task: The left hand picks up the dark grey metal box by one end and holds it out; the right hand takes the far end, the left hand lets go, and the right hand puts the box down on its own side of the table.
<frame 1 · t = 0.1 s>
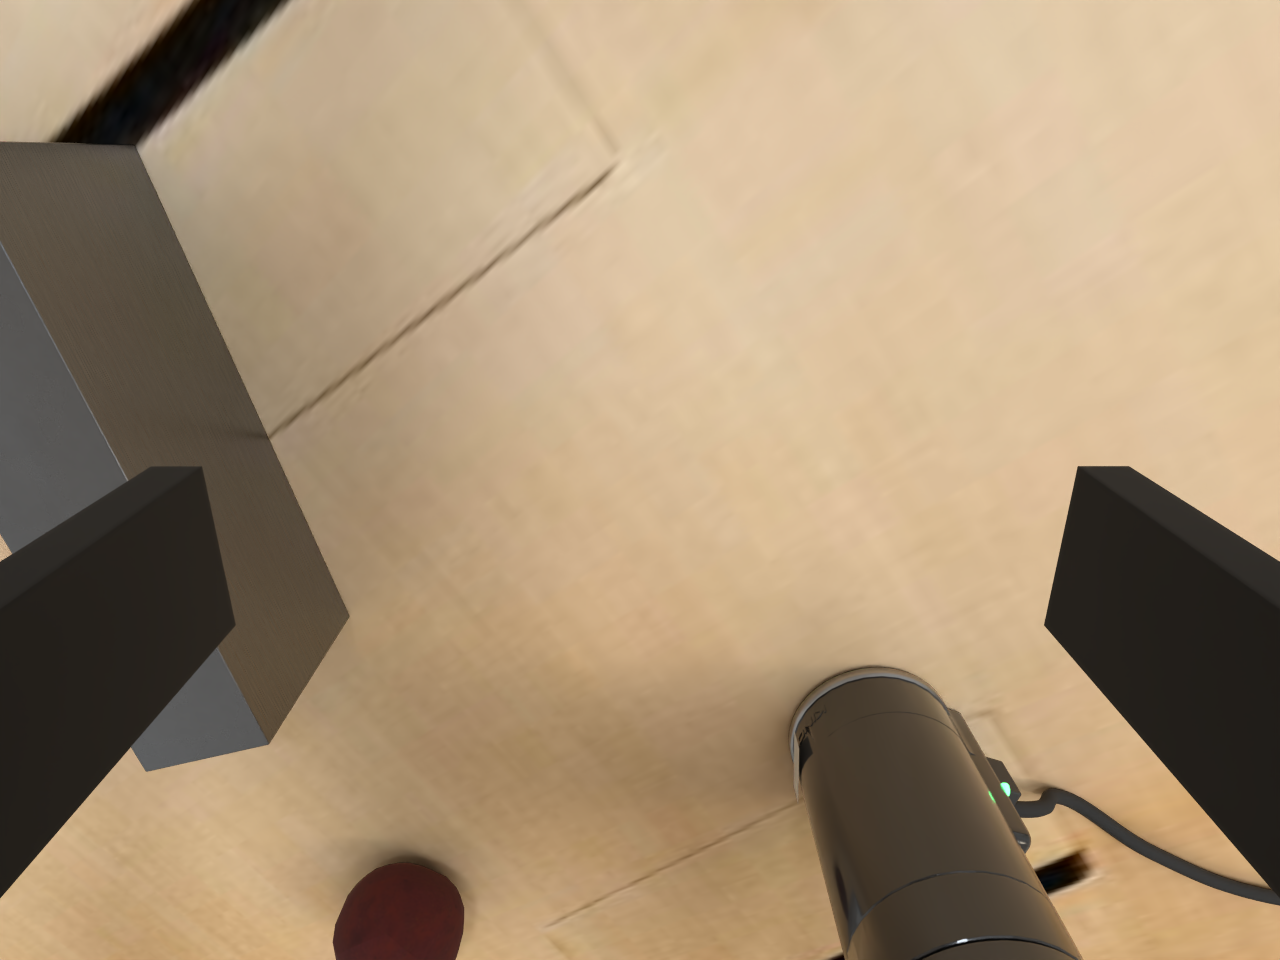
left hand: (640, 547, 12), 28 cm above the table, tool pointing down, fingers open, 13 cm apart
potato: (416, 879, 52), on the table
box: (200, 420, 41), on the table
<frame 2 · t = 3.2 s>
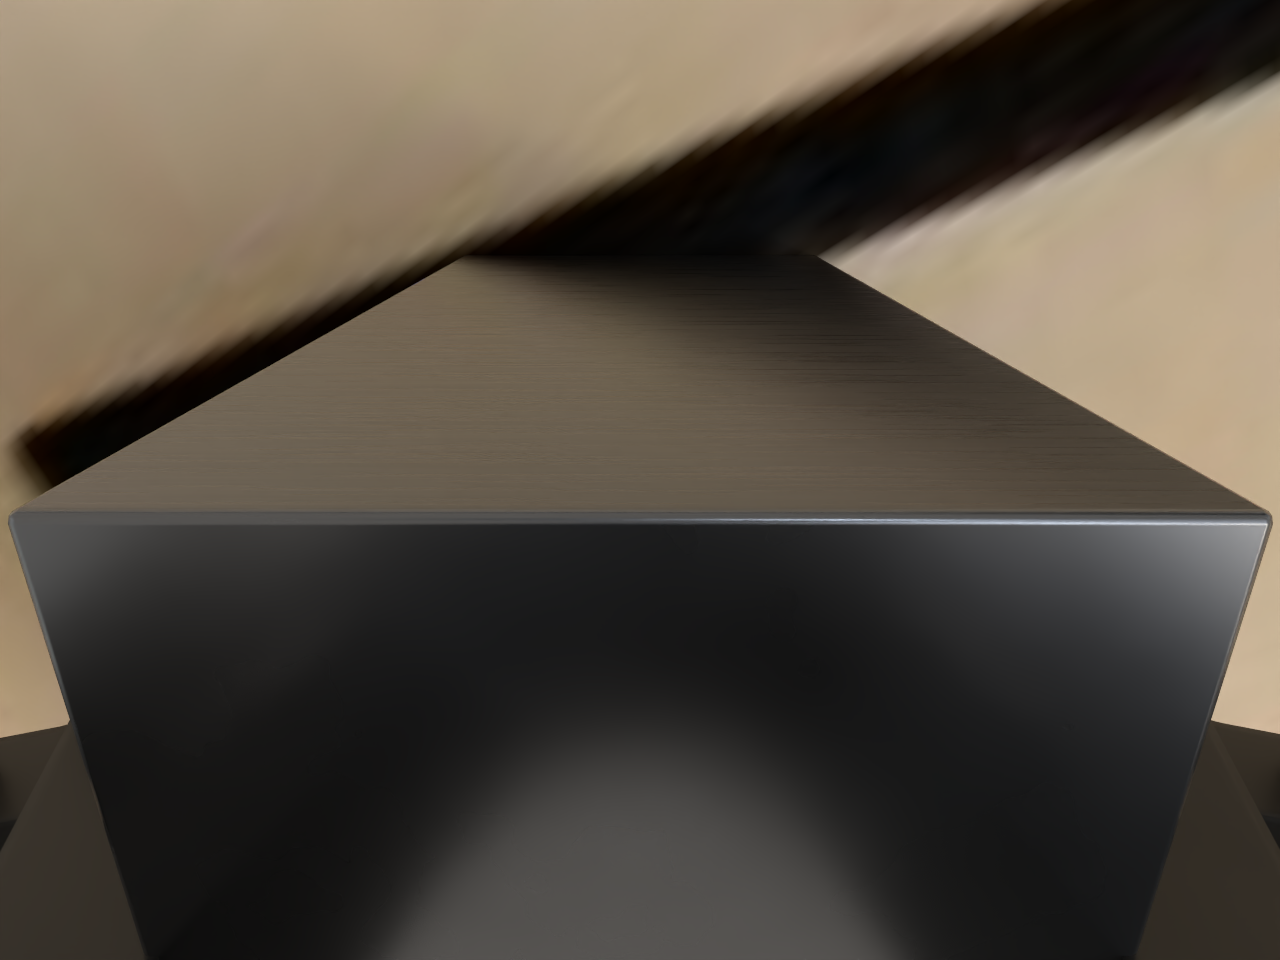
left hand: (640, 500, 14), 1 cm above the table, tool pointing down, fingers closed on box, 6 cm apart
box: (640, 832, 18), on the table, touching left hand
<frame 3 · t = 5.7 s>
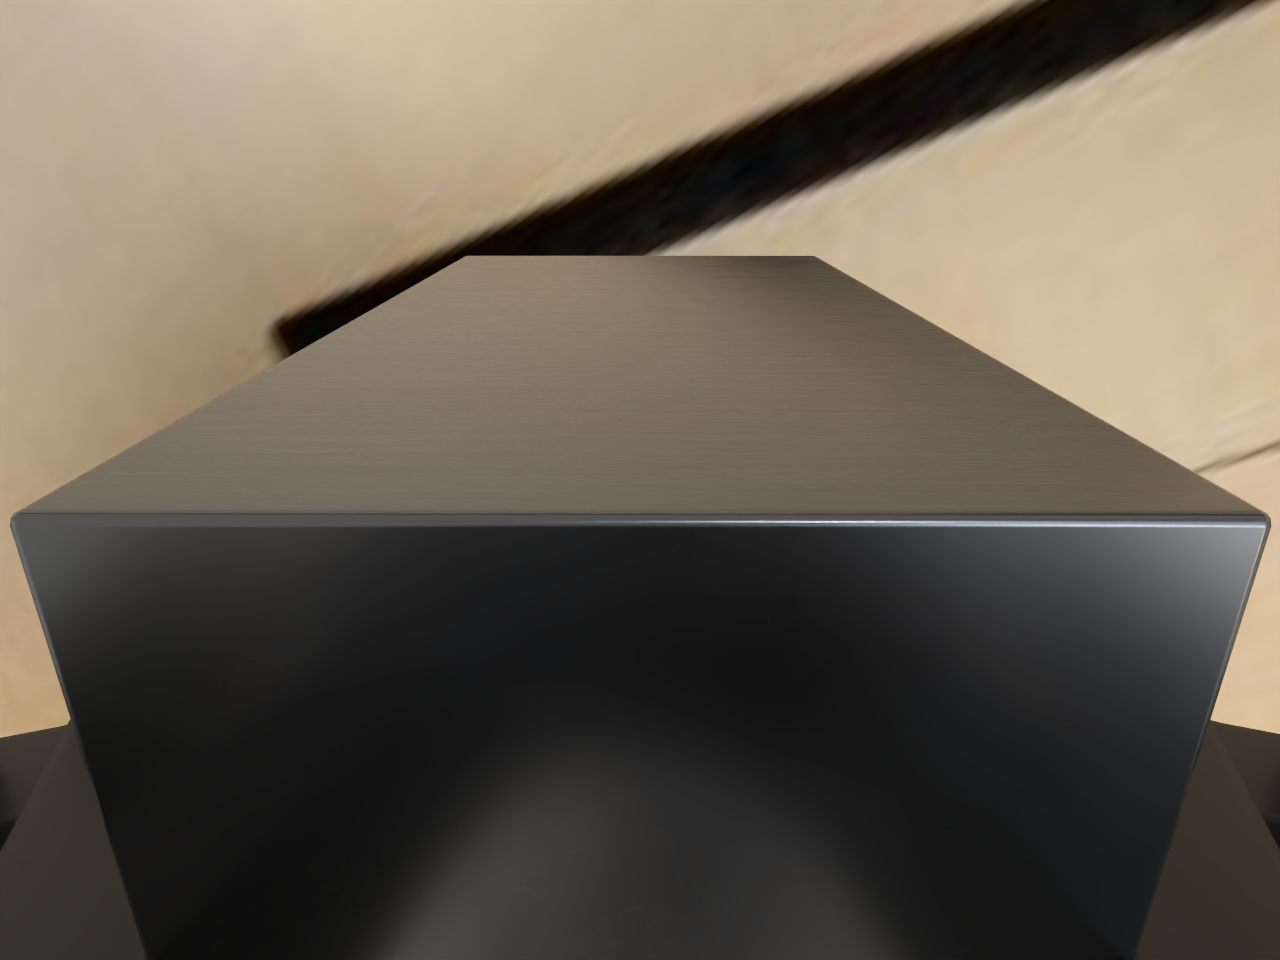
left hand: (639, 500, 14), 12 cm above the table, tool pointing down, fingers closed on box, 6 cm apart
box: (640, 832, 18), point 11 cm above the table, touching left hand
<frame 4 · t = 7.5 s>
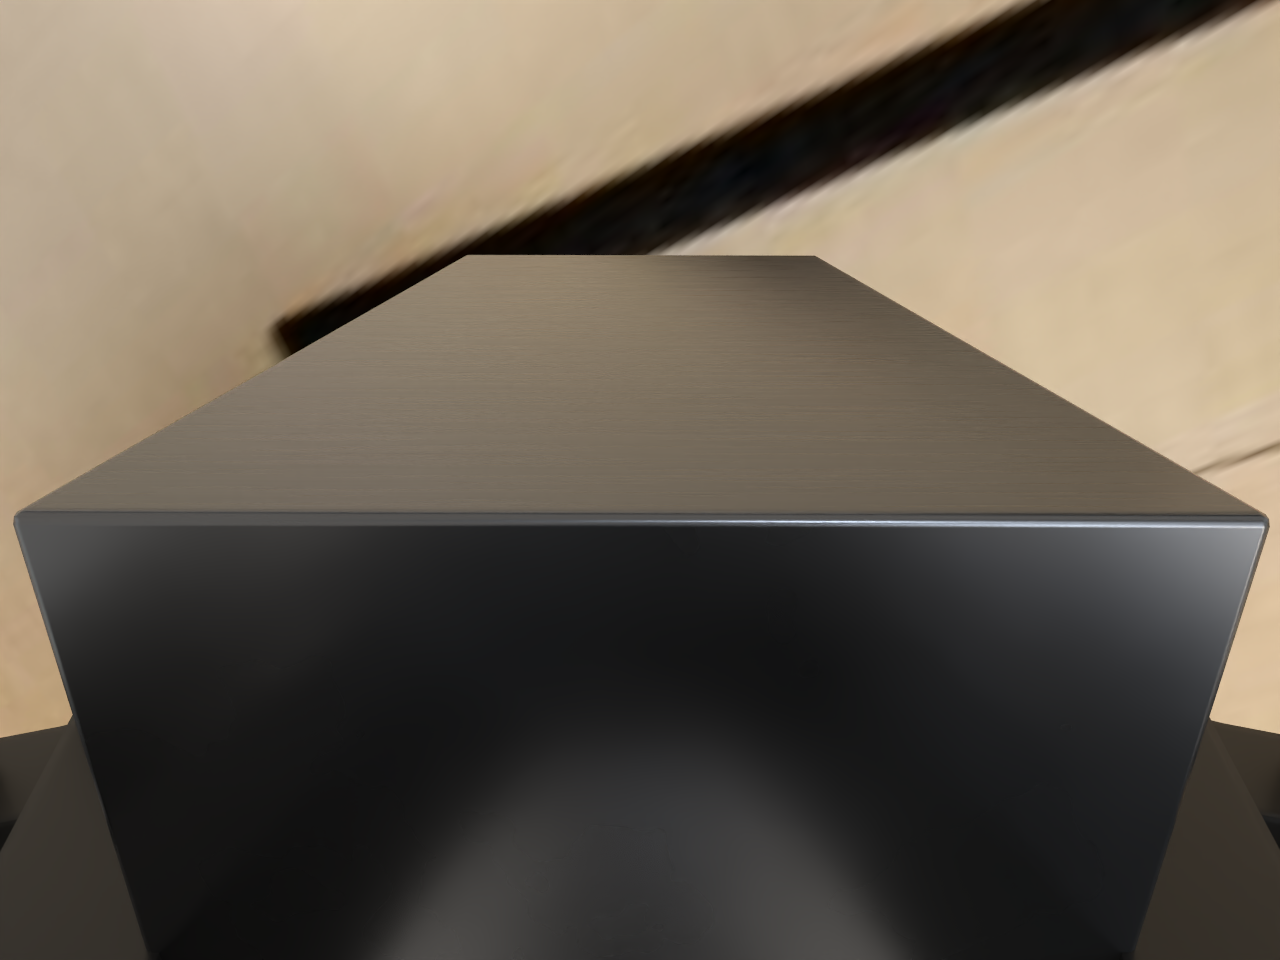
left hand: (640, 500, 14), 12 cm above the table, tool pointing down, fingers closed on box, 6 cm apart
box: (639, 831, 18), point 11 cm above the table, touching left hand, right hand
when the left hand's fingers open (12 cm above the table, at t = 8.4 s): box stays where it is, held by the right hand.
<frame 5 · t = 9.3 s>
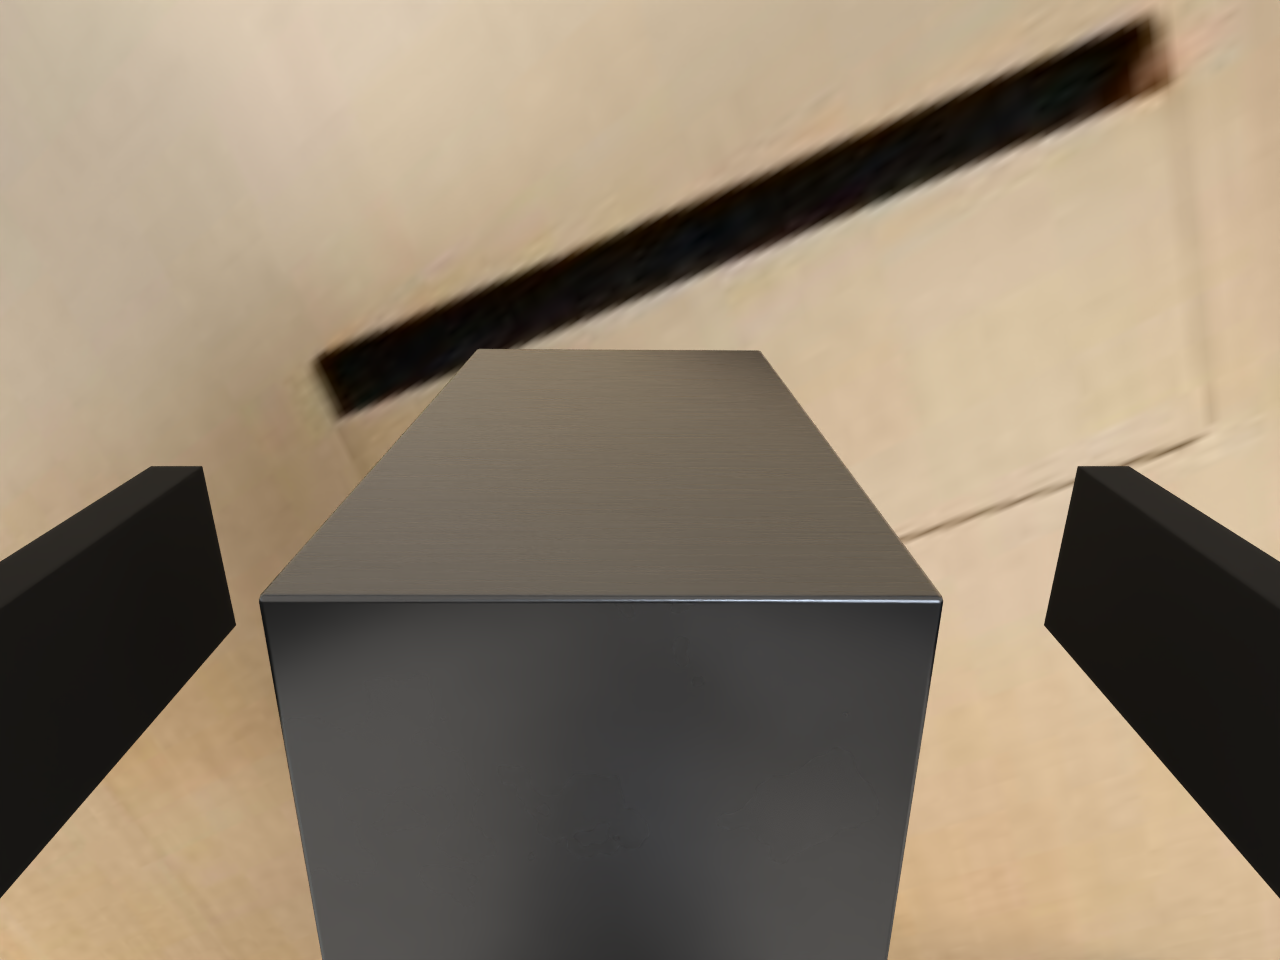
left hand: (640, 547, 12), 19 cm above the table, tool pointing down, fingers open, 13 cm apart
box: (619, 825, 21), point 14 cm above the table, touching right hand
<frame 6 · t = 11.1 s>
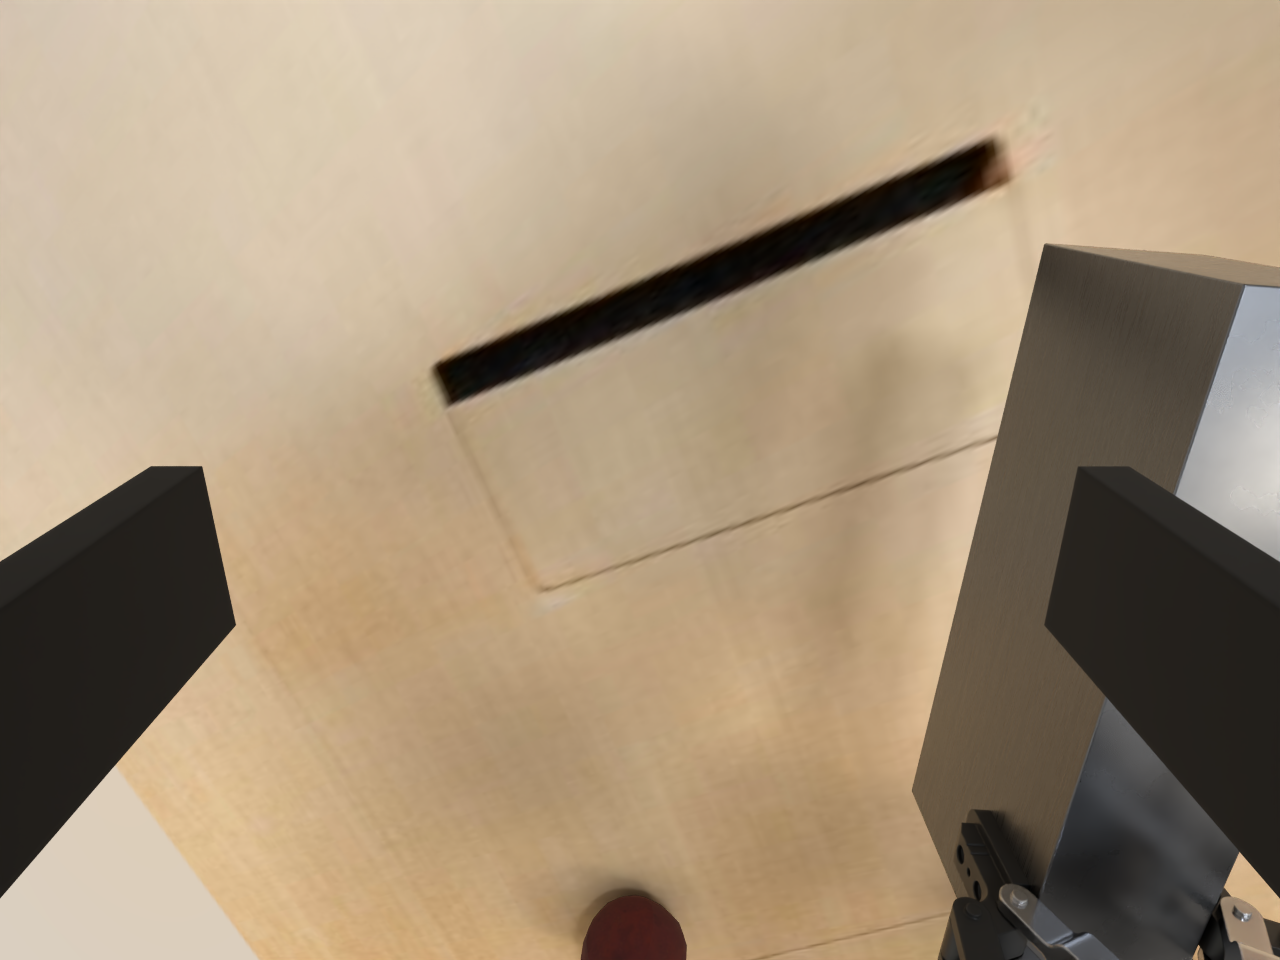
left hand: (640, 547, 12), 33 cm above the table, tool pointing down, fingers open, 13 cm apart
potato: (634, 909, 60), on the table
box: (1038, 558, 34), point 14 cm above the table, touching right hand
when the right hand's fingers open (8 cm above the table, at t = 15.2 s): box drops 2 cm, on the table.
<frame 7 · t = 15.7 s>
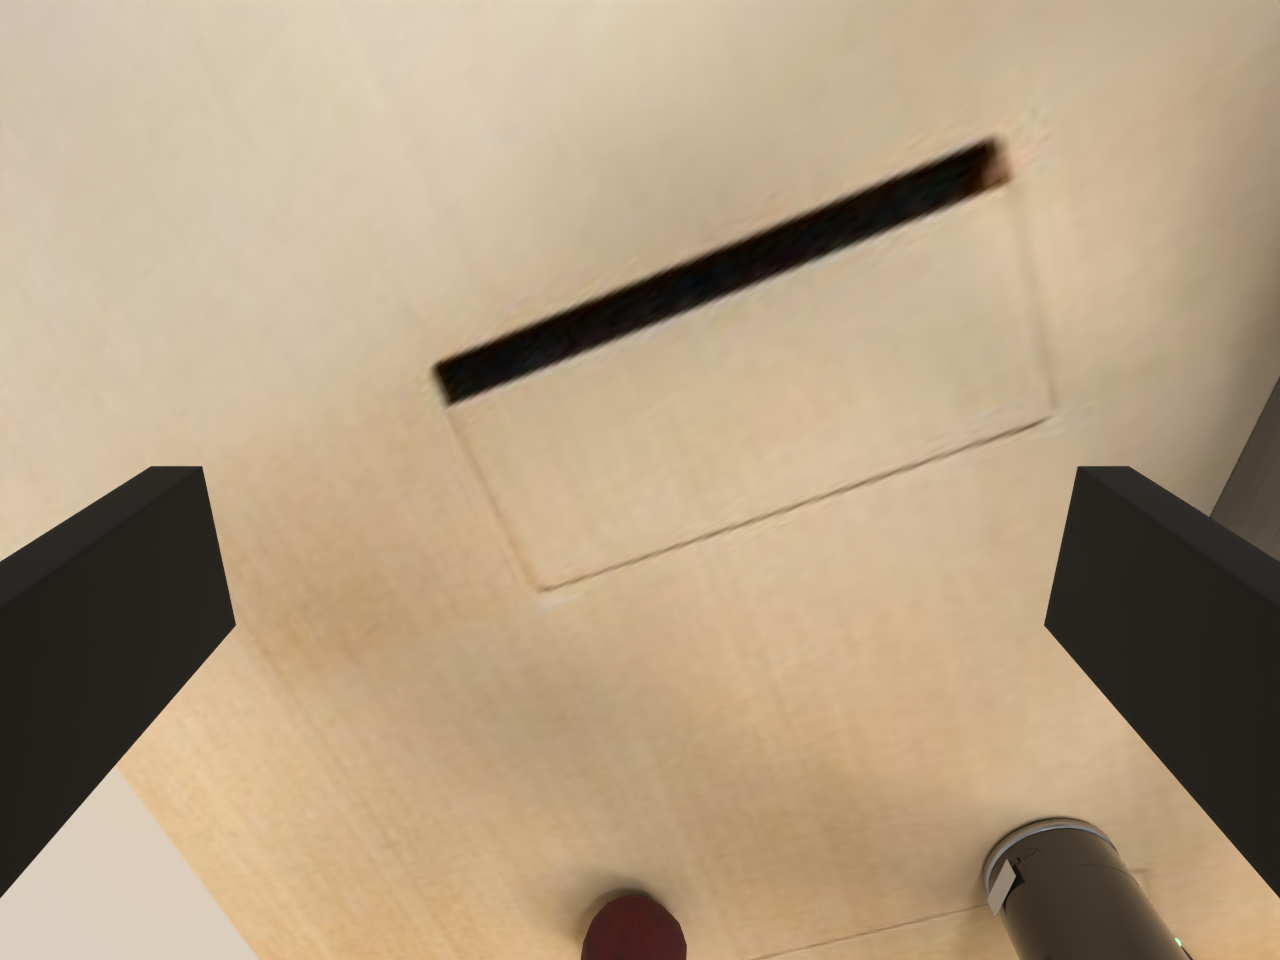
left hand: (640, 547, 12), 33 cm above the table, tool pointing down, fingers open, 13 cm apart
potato: (634, 909, 60), on the table
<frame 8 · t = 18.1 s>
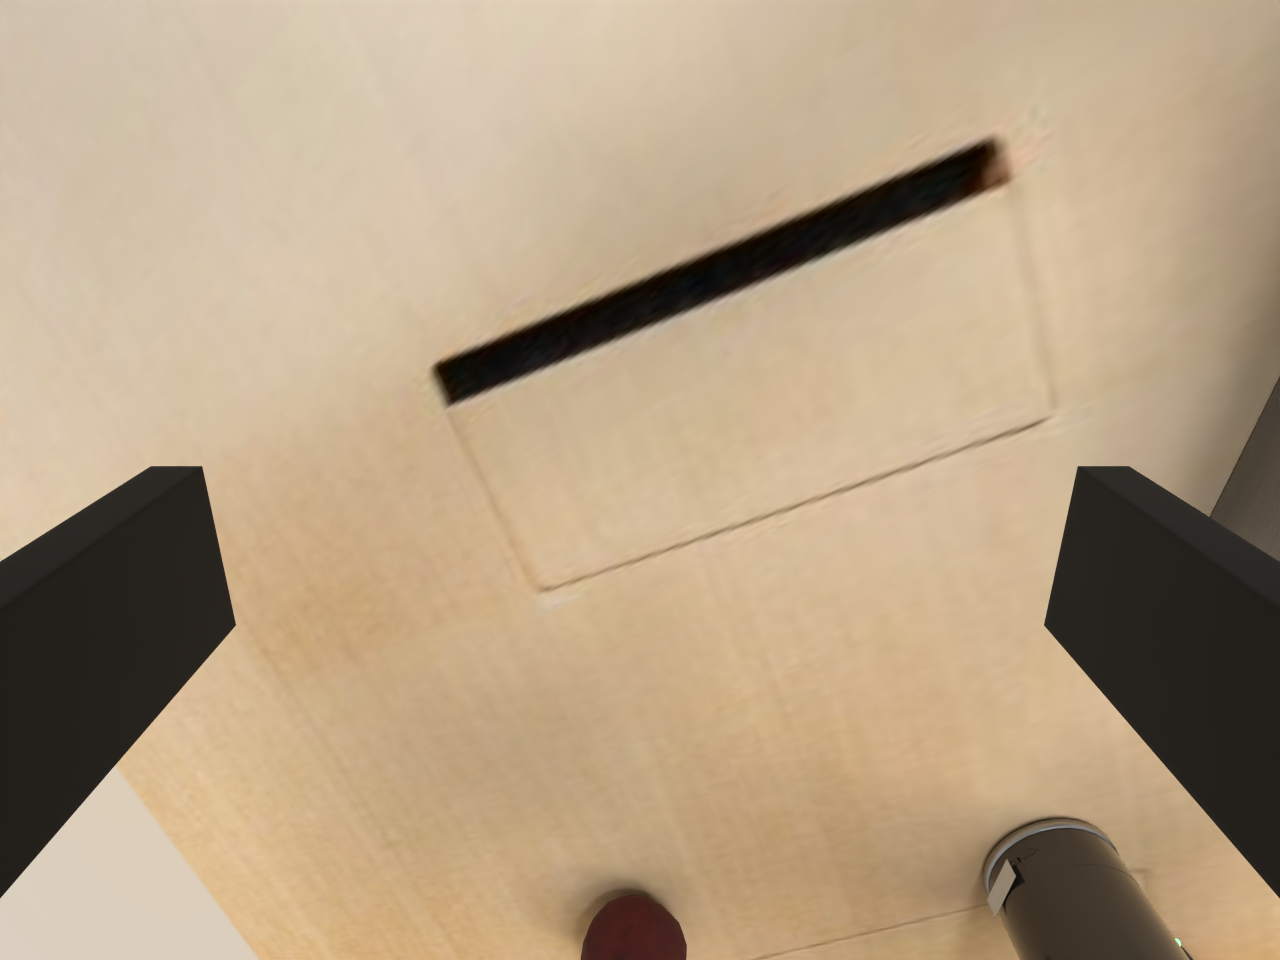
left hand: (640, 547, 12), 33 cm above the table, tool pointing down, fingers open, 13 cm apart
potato: (634, 909, 60), on the table
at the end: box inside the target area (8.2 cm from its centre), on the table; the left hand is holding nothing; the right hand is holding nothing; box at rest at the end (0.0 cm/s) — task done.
